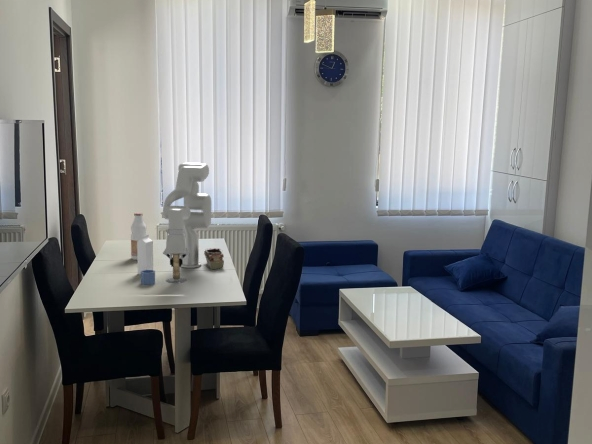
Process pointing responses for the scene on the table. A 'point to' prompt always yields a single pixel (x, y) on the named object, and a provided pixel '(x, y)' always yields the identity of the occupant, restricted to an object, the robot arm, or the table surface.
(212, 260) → the decorative box
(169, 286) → the table surface
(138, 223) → the fruit juice
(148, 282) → the cup
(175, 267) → the wooden pestle
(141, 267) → the milk
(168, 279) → the coaster
